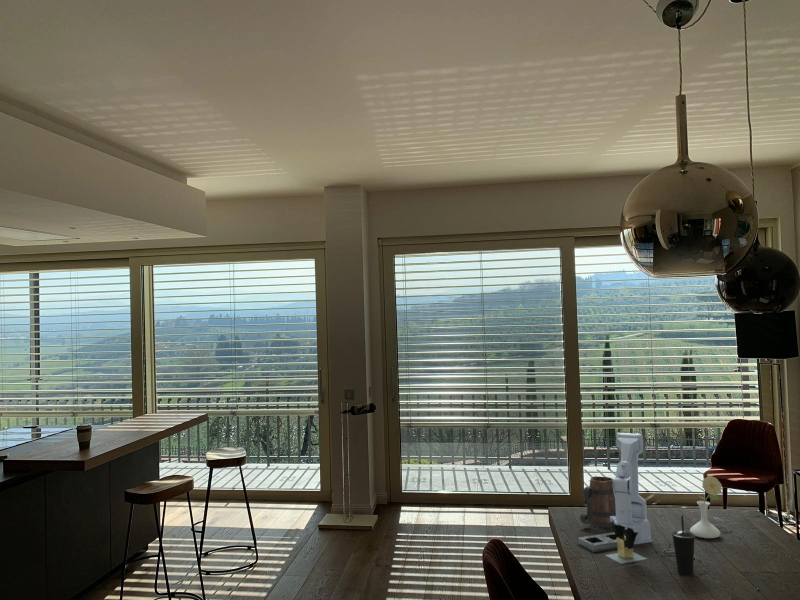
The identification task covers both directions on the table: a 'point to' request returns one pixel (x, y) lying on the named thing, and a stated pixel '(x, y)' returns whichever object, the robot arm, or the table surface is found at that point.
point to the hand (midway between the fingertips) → (625, 545)
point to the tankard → (599, 502)
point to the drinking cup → (684, 550)
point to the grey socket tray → (599, 542)
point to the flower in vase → (704, 526)
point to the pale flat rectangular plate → (621, 560)
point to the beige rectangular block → (623, 548)
